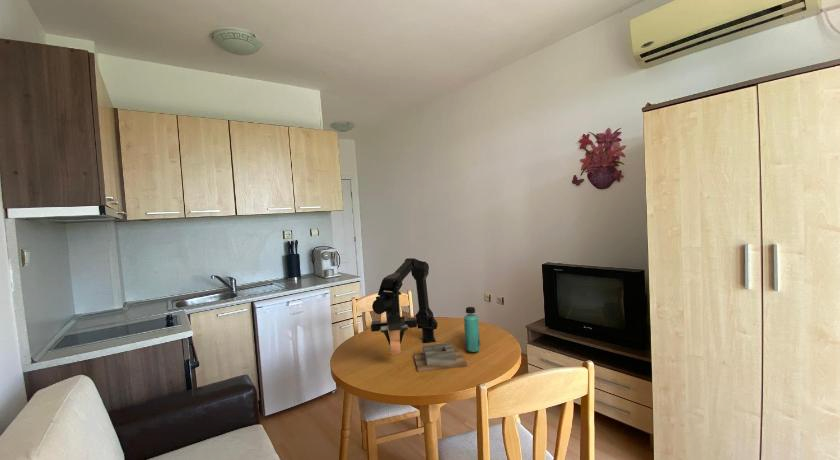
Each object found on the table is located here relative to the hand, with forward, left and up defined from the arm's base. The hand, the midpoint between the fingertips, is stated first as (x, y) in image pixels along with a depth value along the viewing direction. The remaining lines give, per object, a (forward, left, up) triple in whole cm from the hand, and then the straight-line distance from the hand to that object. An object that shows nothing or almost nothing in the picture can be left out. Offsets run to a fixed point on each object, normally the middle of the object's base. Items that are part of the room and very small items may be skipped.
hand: (395, 344), depth 146 cm
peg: (0, 0, -3) cm, 3 cm away
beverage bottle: (-4, +34, -9) cm, 35 cm away
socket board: (+1, +18, -9) cm, 20 cm away
